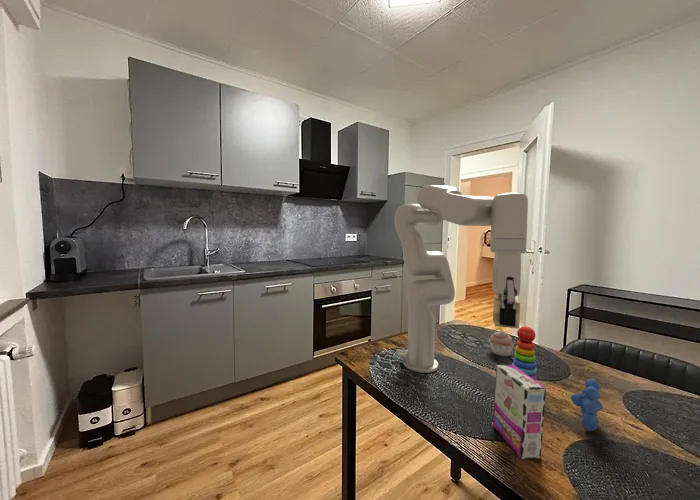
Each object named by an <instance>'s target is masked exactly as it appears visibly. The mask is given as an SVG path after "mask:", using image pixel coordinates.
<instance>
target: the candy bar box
mask: <svg viewBox="0 0 700 500" xmlns="http://www.w3.org/2000/svg"><path fill="white" fill-rule="evenodd" d="M495 373H496V374H495V389H494V390H495V391H494V408H493V423H492V426H493V428H494V429H495V430H496V431H497V432H498V434H499V435H500V436H501V437H502V439H503V440H504V441H505V442H506V443H507V445H508V446H509V447H510V448H511V449H512V450H513V451H514V452H515V454H516V455H517V456H518V457H519V458H520V460H540V459H541V458H542V449H543V432H544V419H545V405H546V404H545V403H546V391H547V388H546V387H545V386H544V385H542V384H541V383H539V382H538V380H537V381H535V380H534V379H532V378H531V377H530V376H528V375H527V374H526V373H524V372H523V371H521V370H520V369H519V368H517V367H516V366H514V365H512V364H503V365H502V364H498V365H497V364H496V370H495Z"/></svg>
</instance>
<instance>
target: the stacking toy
mask: <svg viewBox="0 0 700 500" xmlns="http://www.w3.org/2000/svg"><path fill="white" fill-rule="evenodd" d="M516 334H517V337H518V340H517V341H516V346H515V348H514V350H515V352H514V354H513V355H514V356H513V359H512V362H513V363H512V364H511V365H514V366H516V367H517V368H519V369H520V370H521V371H523V372H524V373H526V374H527V375H528V376H530V377H531V378H532V379H534V380H535V381H537V382H538V380H537V378H538V377H537V373H538V369H537V362H536V360H537V358H536V355H535V353H536V352H535V343H534V342H533V341H534V340H535V339H536V331H535V330H534V329H533V328H531V327H530V326H526V325H525V326H521V327H520V326H519V329H518V330H517V331H516Z"/></svg>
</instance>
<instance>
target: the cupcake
mask: <svg viewBox="0 0 700 500" xmlns="http://www.w3.org/2000/svg"><path fill="white" fill-rule="evenodd" d="M488 342H489V343H490V347H491V351H492V354H494V355H496V356H498V355H499V357H504V358H505V357H509V356H510V355H511V353H512V350H513V348H514V346H515V342H513V339H512V337H511V335H509V334H508V332H506V331H505V330H503V329H500V330H499V331H496V332H494V333H493V334H491V335H490V338H489V340H488Z"/></svg>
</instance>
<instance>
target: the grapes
mask: <svg viewBox="0 0 700 500" xmlns="http://www.w3.org/2000/svg"><path fill="white" fill-rule="evenodd" d="M584 386H585V388H584V389H583V390H582V391H581V394H580V393H579V392H576V393H573V394H572V395H571V396H570V397H569V398H570V400H571V401H572V402H573V404H574V405H575V406H577V407H579V408H580V412H581V413H582V415H581V419H582V420H580V421H581V424H582V426H583V427H584V428H585V430H586V431H588V432H592V431H595V430H597V429H598V428H599V426H598V423H600V422H599V419H598V418H597V416H598V413H599V412H600V411H602V410H603V409H604V406H603V405H602V403H601V401H600V400H599V399H600V398H601V393H600V392H599V391H600V390H601V388H602V386H601V385H600V384H599V382H598V381H597V380H596V378H589V379H587V380H586V381H585V382H584Z"/></svg>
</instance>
